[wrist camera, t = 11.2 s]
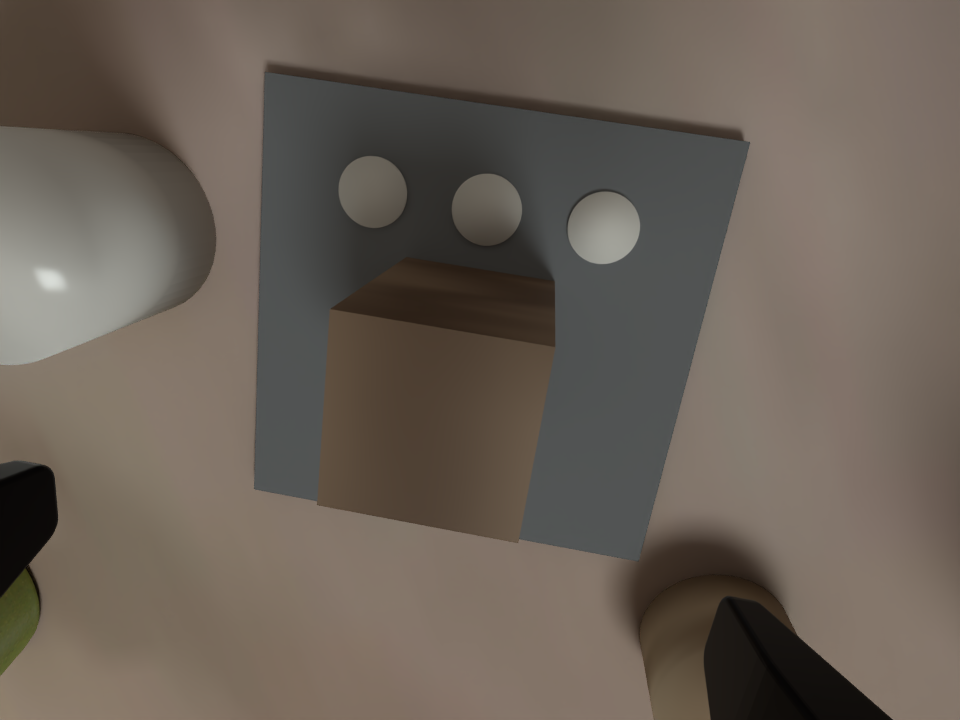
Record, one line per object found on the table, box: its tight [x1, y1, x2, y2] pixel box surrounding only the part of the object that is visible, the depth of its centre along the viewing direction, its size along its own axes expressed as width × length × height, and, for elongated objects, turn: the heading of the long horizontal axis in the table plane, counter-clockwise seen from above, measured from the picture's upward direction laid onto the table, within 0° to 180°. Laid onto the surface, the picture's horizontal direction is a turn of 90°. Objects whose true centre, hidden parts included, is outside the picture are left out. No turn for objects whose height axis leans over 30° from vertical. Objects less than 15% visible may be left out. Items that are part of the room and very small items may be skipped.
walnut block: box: [317, 257, 555, 543], centre depth 14 cm, size 4×4×6 cm
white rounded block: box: [0, 126, 216, 365], centre depth 15 cm, size 5×5×5 cm
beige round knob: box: [640, 575, 797, 720], centre depth 18 cm, size 5×5×3 cm
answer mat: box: [254, 72, 750, 561], centre depth 17 cm, size 12×12×1 cm
